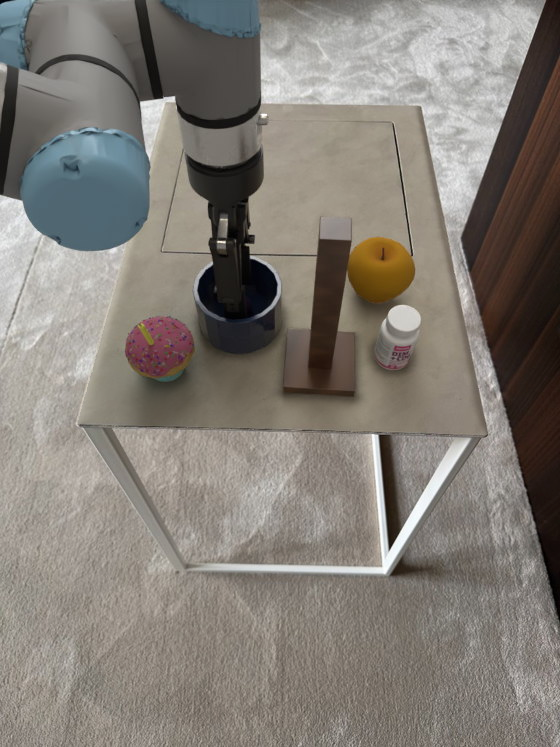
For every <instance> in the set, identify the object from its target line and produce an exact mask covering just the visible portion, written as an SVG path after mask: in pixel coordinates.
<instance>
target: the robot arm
mask: <svg viewBox="0 0 560 747" xmlns="http://www.w3.org/2000/svg"><path fill="white" fill-rule="evenodd" d="M261 31H262V22H261V18H260V11H259V0H9V1H5V2H1V3H0V196H3V197H6V198H10V199H13V200H17V201H21V202H22V205H23V210H24V213H25V215H26V217H27V219H28V221H29V222H30V223H31V225H32V226H33V228H35V230H36V231H37V232H39V233H40V234H41V235H42V236H46V237H47V238H48V239H51V240H52V241H55V242H56V244H57V245H58V246H61V247H63V248H66V249H69V250H72V251H73V250H74V251H80V252H101V251H107V250H108V251H109V250H111V249H115V248H117V247H121V246H122V245H124V244H126V243H128V242H129V241H130V240H132V239H133V238H134V237H135V236H136V235H137V234H139V232H140V231H141V230H142V228H143V226H144V224H145V223H146V221H148V217H149V212H150V208H151V207H150V205H151V204H150V202H151V201H150V200H151V198H150V195H151V194H150V193H151V192H150V180H151V175H150V171H151V161H150V157H149V155H148V153H147V149H146V143H145V142H146V141H145V135H144V128H143V120H142V109H141V102H149V101H156V100H164V98H172V97H174V101H175V108H176V115H177V121H178V126H179V133H180V139H181V145H182V149H183V151H184V161H185V164H186V172H187V176H188V182H189V185H190V187H191V188H192V190H193V191H194V193H196V194H197V195H198V196H199V197H201V198H202V199H205V200H206V201H208V202H207V216H208V219H209V220H210V226H211V227H210V228H211V236H210V237H209V239H208V243H207V245H208V247H209V252H210V255H211V259H212V260H211V262H212V261H213V268H214V275H215V283H216V285H215V289H214V293H217V299H218V302H220V303H223V308H224V315H225V318H228V319H233V320H234V319H246V318H247V311H246V299H245V287H244V285H251V282H252V278H251V263H250V256H251V250H250V247H251V246H250V245H255V242H256V235H255V234H249V230H250V228H251V227H252V223H251V219H250V203H249V202H250V200H249V199H250V197H251V196H253V195H254V194H255V193H257V191H258V190H259V189H260V188H261V186H262V184H263V182H264V179H265V178H264V177H265V165H264V164H265V162H264V161H265V160H264V146H263V126H268V124H269V123H270V116H269V115H268V113H261V112H262V68H261V67H262V65H261V64H262V63H261V61H262V60H261V59H262V58H261V57H262V55H261Z"/></svg>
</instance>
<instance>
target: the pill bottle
mask: <svg viewBox="0 0 560 747" xmlns="http://www.w3.org/2000/svg"><path fill="white" fill-rule="evenodd" d="M421 324H422V316H421V315H420V312H419V311H418V310H417V309H416V308H414V307H413V306H410V305H408V304H407V305H406V304H398V305H395V306H393V307H392V308H391V309H390V310H389V311H388V313H387V315H386V317H385V319H383V321H382V323H381V325H380V329H379V333H378V336H377V339H376V343H375V347H374V351H373V356H374V357H373V358H374V359H375V362H376V363H377V365H379V366H380V367H381V368H383V369H385V370H388V371H399V370H401V369H403V368H405V367H406V366H407V365H408V364H409V362H410V360H411V358H412V354H413V353H414V350H415V347H416V345H417V342H418V340H419V337H420V331H421V330H420V326H421Z"/></svg>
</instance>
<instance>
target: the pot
mask: <svg viewBox="0 0 560 747" xmlns="http://www.w3.org/2000/svg"><path fill="white" fill-rule="evenodd" d="M250 263H251V278H252V282H251V285H244V287H245V295H246V296H247V297H248V298H249V300H250V302H251V306H252V309H253V314H254V316H252V317H250V318H246V319H234V320H233V319H228V318H225V315H224V308H223V303H220V302H218V299H217V293H214V289H215V285H216V283H215V275H214V268H213V261H212V260H211V261H210V262H208V263H207V264H206V265H204V266H203V267H202V268H201V269H200V271H199V272H198V274H197V275H196V277H194V282H193V287H192V294H193V300H194V305H195V309H196V314H197V318H198V319H197V320H198V323H199V327H200V331H201V334H202V335H203V337H204V339H205V340H206V341H207V342H208V344H210V345H211V346H212V347H213V348H214V349H216V350H219V351H221V352H224V353H227V354H232V355H247V354H252V353H255V352H259V351H260V350H263V349H265V348H266V347H267V346H269V345H270V344H272V342H274V340H275V339H276V338H277V336H278V335H279V332H280V330H281V327H282V319H283V282H282V280H281V277H280V275H279V274H280V273H279V272H278V271H277V270H276V269H275V268H274V267H273V266H272V265H271V263H269V262H268V261H265V260H263V259H262V258H260V257H258V256H254V255H250Z"/></svg>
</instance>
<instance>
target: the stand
mask: <svg viewBox="0 0 560 747" xmlns="http://www.w3.org/2000/svg"><path fill="white" fill-rule="evenodd" d="M317 236H318V237H317V248H316V260H315V261H316V262H315V272H314V285H313V296H312V305H311V306H312V309H311V319H310V329H302V328H287V329H286V340H285V352H284V353H285V354H284V367H283V379H282V381H283V382H282V393H285V394H299V395H301V394H302V395H316V396H331V397H347V398H349V397H351V398H353V397H355V393H356V332H355V331H338V329H339V325H340V319H341V318H340V317H341V312H342V305H343V298H344V292H345V287H346V279H347V275H348V274H347V268H348V262H349V256H350V254H351V248H352V242H353V241H352V240H353V218H352V217H341V216H340V217H339V216H320V217H319V225H318V235H317Z"/></svg>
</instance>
